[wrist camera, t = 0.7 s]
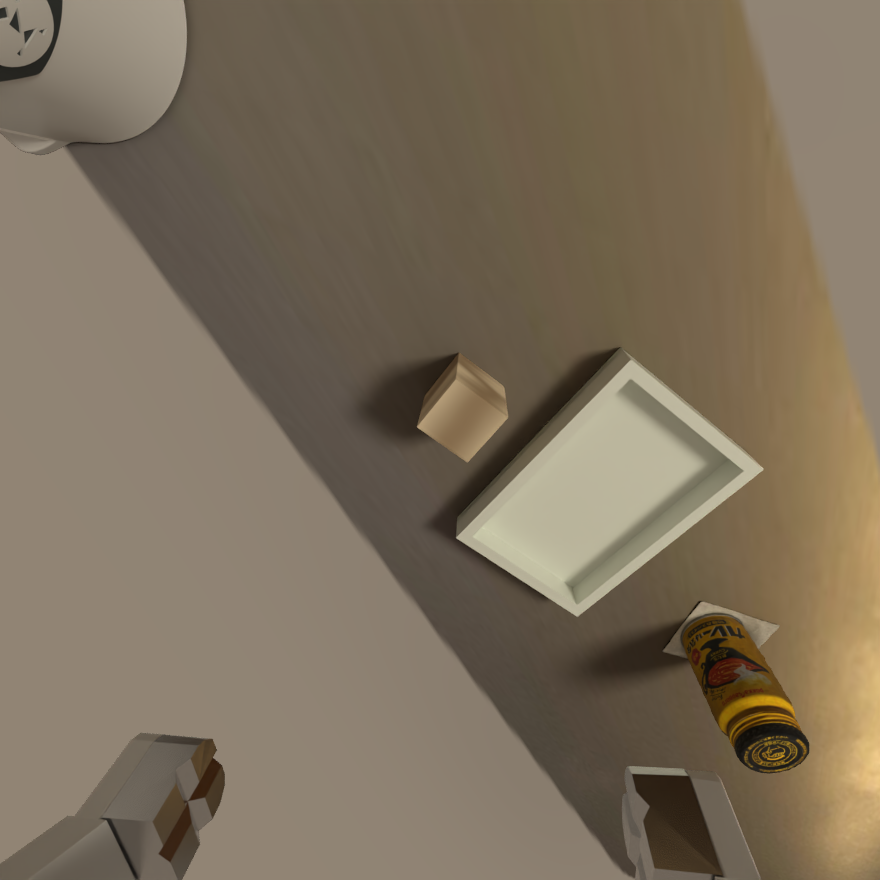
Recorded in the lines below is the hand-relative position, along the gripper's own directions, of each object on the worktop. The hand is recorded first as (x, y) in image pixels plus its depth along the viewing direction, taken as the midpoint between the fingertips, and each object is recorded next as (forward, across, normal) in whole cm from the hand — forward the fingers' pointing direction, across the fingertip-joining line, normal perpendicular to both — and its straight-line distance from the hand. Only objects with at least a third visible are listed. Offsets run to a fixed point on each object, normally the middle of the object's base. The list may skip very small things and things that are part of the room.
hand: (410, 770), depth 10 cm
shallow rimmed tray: (+33, -9, +11) cm, 36 cm away
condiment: (+36, -22, +29) cm, 51 cm away
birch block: (+32, +1, +2) cm, 32 cm away
